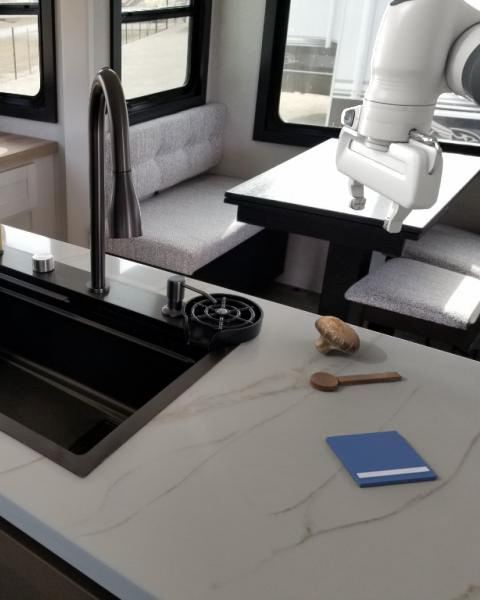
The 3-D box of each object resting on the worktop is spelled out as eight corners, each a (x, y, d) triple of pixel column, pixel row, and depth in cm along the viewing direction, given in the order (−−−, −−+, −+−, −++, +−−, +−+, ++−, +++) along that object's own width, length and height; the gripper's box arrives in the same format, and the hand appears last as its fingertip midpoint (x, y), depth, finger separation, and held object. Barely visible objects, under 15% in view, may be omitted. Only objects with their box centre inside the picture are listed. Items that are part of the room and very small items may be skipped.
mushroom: (304, 342, 102) (329, 311, 101) (298, 336, 110) (322, 307, 109) (346, 372, 101) (372, 341, 100) (338, 364, 109) (362, 335, 108)
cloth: (395, 433, 87) (396, 429, 86) (436, 479, 79) (437, 475, 79) (325, 440, 86) (326, 436, 85) (359, 487, 78) (360, 483, 77)
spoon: (390, 371, 100) (392, 365, 100) (405, 385, 97) (406, 380, 97) (305, 378, 99) (306, 372, 99) (316, 393, 95) (317, 387, 95)
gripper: (467, 139, 77) (438, 245, 83) (376, 108, 95) (357, 197, 101) (419, 140, 76) (393, 247, 83) (336, 109, 94) (320, 198, 101)
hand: (372, 219), depth 92 cm, fingers open, 8 cm apart
